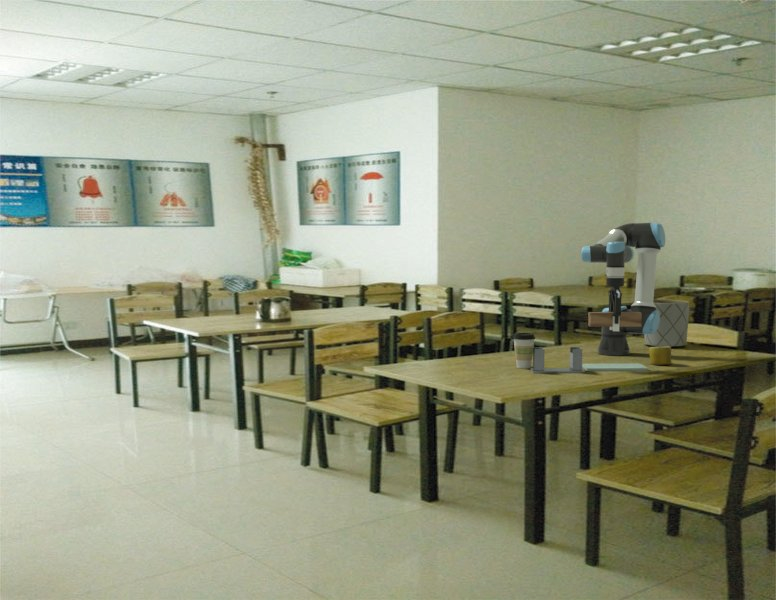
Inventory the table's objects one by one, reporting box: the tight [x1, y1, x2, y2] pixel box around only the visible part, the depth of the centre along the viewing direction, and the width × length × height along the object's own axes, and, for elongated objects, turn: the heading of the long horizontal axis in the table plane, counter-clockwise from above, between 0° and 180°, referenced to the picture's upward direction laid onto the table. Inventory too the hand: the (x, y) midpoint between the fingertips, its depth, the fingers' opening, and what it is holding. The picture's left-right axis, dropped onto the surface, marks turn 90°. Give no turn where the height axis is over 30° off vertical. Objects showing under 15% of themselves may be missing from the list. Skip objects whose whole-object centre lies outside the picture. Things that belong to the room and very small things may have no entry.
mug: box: [648, 346, 672, 366], centre depth 341 cm, size 12×10×10 cm
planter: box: [643, 299, 690, 348], centre depth 394 cm, size 23×23×24 cm
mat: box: [582, 363, 649, 372], centre depth 332 cm, size 12×26×1 cm, turn 87°
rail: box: [587, 311, 642, 328], centre depth 330 cm, size 4×22×6 cm, turn 87°
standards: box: [529, 346, 586, 374], centre depth 326 cm, size 8×22×10 cm, turn 87°
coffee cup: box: [512, 332, 536, 370], centre depth 336 cm, size 10×10×15 cm
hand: (614, 330), depth 330 cm, fingers closed on rail, 4 cm apart
